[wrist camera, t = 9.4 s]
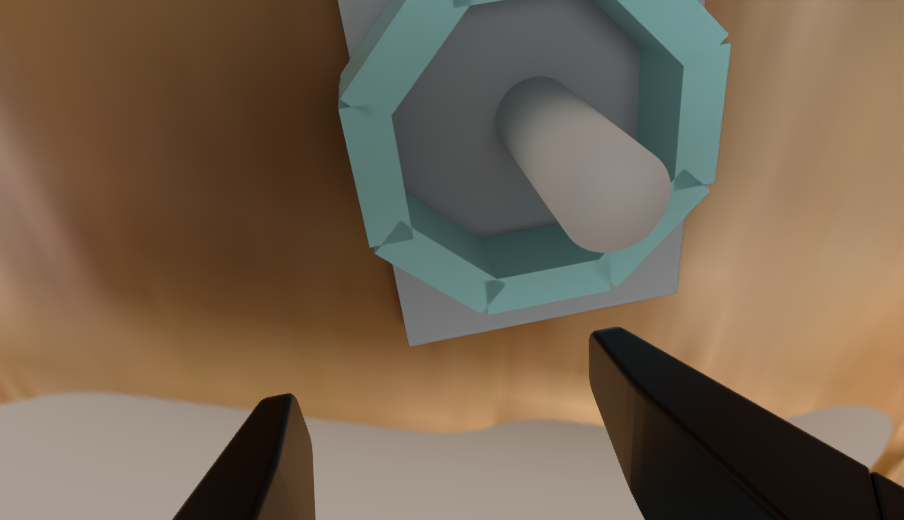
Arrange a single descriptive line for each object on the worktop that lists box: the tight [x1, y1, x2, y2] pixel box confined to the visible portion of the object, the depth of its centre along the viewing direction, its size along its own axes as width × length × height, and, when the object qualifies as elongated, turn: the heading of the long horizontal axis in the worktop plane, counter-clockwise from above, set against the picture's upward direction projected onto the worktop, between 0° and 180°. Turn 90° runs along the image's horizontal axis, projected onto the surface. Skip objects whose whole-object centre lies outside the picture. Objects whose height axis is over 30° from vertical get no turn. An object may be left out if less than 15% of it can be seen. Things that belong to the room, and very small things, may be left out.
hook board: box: [338, 0, 705, 347], centre depth 15 cm, size 10×15×8 cm, turn 7°
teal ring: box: [338, 0, 731, 315], centre depth 16 cm, size 10×10×2 cm
